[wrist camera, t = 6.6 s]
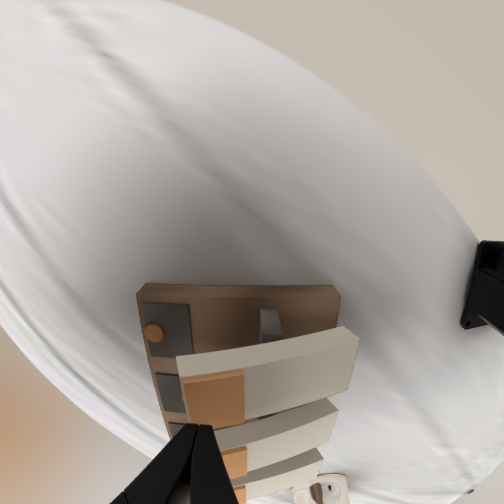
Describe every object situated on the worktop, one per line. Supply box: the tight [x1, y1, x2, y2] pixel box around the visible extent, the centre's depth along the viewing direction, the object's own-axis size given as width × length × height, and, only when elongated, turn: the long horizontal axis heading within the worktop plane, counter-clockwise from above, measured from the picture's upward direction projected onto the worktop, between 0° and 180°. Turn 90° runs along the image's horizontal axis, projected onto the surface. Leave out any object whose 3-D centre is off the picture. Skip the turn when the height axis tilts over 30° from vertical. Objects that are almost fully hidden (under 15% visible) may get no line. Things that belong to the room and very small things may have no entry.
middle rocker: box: [214, 397, 338, 479], centre depth 11 cm, size 7×3×1 cm, turn 89°
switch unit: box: [136, 283, 341, 440], centre depth 14 cm, size 10×13×4 cm
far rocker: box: [230, 447, 324, 504], centre depth 12 cm, size 7×3×1 cm, turn 89°
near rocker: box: [176, 326, 360, 429], centre depth 10 cm, size 7×3×1 cm, turn 89°
